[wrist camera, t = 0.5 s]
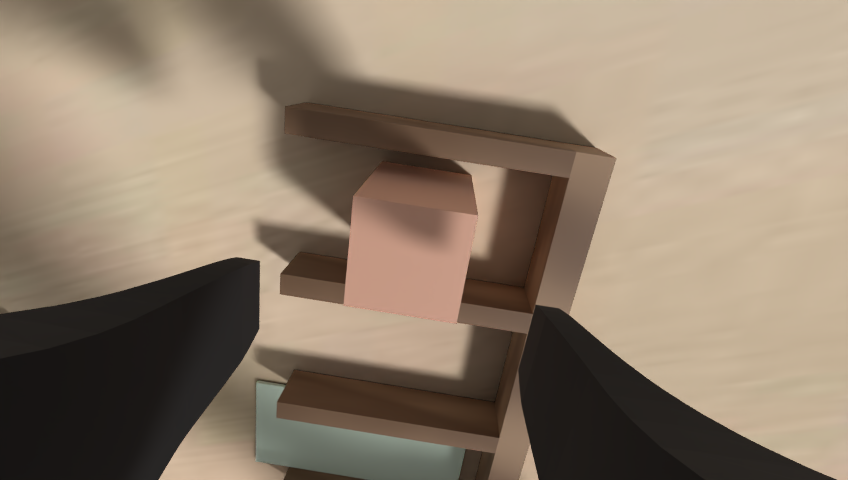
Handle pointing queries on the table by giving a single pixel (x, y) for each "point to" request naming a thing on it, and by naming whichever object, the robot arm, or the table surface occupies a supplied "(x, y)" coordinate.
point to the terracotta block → (411, 242)
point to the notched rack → (480, 305)
